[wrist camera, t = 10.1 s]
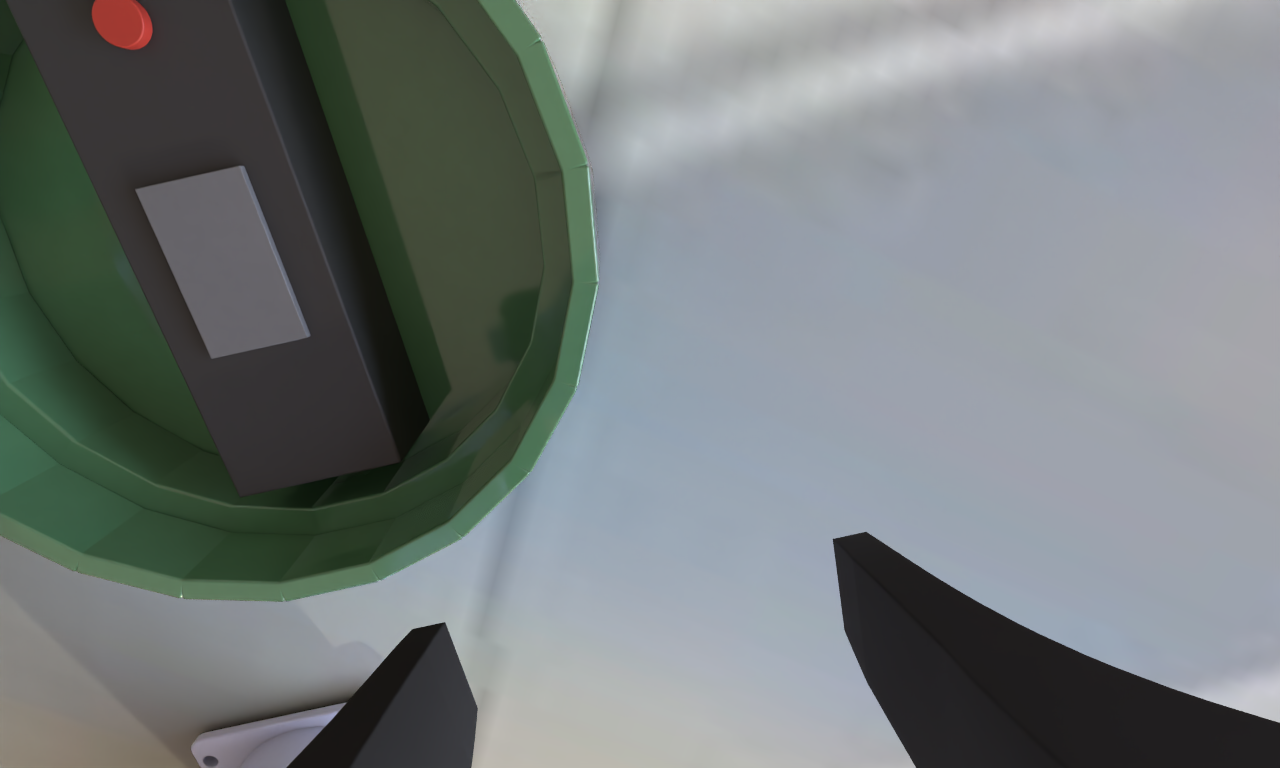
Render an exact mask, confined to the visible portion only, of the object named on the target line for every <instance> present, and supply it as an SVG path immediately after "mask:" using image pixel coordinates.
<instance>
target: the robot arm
mask: <svg viewBox="0 0 1280 768" xmlns="http://www.w3.org/2000/svg"><path fill="white" fill-rule="evenodd" d="M833 544H834V552H835V559H836V567H837V575H838V583H839V590H840V598H841V606H842V614H843V621H844V629H845V632H846V635H847V637H848V639H849V642H850V644H851V646H852V649H853V651H854V653H855V656H856V658H857V660H858V663H859V665H860V667H861V669H862V672H863V674H864V676H865V678H866V681H867V683H868V685H869V686H870V688H871V690H872V692H873V694H874V695H875V697H876V699H877V701H878V702H879V704H880V706H881V708H882V709H883V711H884V713H885V715H886V716H887V718H888V720H889V722H890V723H891V725H892V727H893V728H894V730H895V732H896V734H897V735H898V737H899V739H900V741H901V742H902V744H903V746H904V747H905V749H906V751H907V753H908V754H909V756H910V758H911V759H912V761H913V763H914V765H915V766H916V768H1280V723H1278V722H1275V721H1271V720H1268V719H1265V718H1262V717H1258V716H1255V715H1252V714H1249V713H1245V712H1242V711H1239V710H1236V709H1232V708H1229V707H1226V706H1223V705H1219V704H1216V703H1213V702H1210V701H1207V700H1204V699H1201V698H1198V697H1195V696H1192V695H1189V694H1186V693H1183V692H1180V691H1177V690H1174V689H1172V688H1169V687H1166V686H1163V685H1161V684H1158V683H1155V682H1153V681H1150V680H1147V679H1145V678H1142V677H1139V676H1137V675H1134V674H1131V673H1129V672H1126V671H1124V670H1121V669H1118V668H1116V667H1113V666H1111V665H1108V664H1106V663H1103V662H1101V661H1098V660H1096V659H1094V658H1091V657H1089V656H1086V655H1084V654H1082V653H1080V652H1078V651H1075V650H1073V649H1071V648H1069V647H1066V646H1064V645H1062V644H1060V643H1058V642H1055V641H1053V640H1051V639H1049V638H1047V637H1044V636H1042V635H1040V634H1038V633H1036V632H1034V631H1032V630H1030V629H1028V628H1026V627H1024V626H1022V625H1020V624H1018V623H1016V622H1014V621H1012V620H1010V619H1008V618H1007V617H1005V616H1003V615H1001V614H999V613H997V612H995V611H993V610H992V609H990V608H988V607H986V606H984V605H982V604H980V603H979V602H977V601H975V600H973V599H972V598H970V597H968V596H966V595H965V594H963V593H961V592H960V591H958V590H956V589H955V588H953V587H951V586H950V585H948V584H946V583H945V582H943V581H941V580H940V579H938V578H936V577H935V576H933V575H932V574H930V573H928V572H927V571H925V570H924V569H922V568H921V567H919V566H918V565H916V564H914V563H913V562H911V561H910V560H908V559H907V558H905V557H904V556H902V555H901V554H899V553H898V552H896V551H895V550H893V549H892V548H890V547H888V546H887V545H885V544H884V543H882V542H881V541H879V540H878V539H876V538H875V537H873V536H872V535H870V534H869V533H867V532H864V533H859V534H854V535H850V536H845V537H840V538H836V539H833ZM477 710H478V708H477V705H476V703H475V700H474V697H473V695H472V692H471V689H470V687H469V684H468V681H467V679H466V676H465V674H464V671H463V668H462V666H461V663H460V660H459V658H458V655H457V653H456V650H455V647H454V645H453V642H452V639H451V637H450V634H449V631H448V629H447V626H446V624H445V622H444V623H439V624H435V625H430V626H425V627H421V628H416V629H412V630H411V631H410V632H409V634H408V635H407V636H406V637H405V638H404V639H403V640H402V641H401V642H400V643H399V644H398V645H397V646H396V647H395V649H394V650H393V651H392V652H391V653H390V654H389V655H388V656H387V658H386V659H385V660H384V661H383V662H382V663H381V664H380V666H379V667H378V668H377V669H376V670H375V671H374V672H373V674H372V675H371V676H370V677H369V678H368V679H367V680H366V682H365V683H364V684H363V685H362V686H361V687H360V688H359V689H358V691H357V692H356V693H355V694H354V695H353V696H352V697H351V698H350V700H349V701H348V702H346V703H341V704H336V705H332V706H327V707H322V708H318V709H313V710H308V711H304V712H299V713H294V714H290V715H285V716H280V717H275V718H271V719H266V720H261V721H257V722H252V723H247V724H243V725H238V726H233V727H229V728H224V729H219V730H215V731H210V732H205V733H202V734H200V735H199V736H198V737H197V738H196V740H195V741H194V742H193V744H192V746H191V751H192V754H193V755H194V757H195V759H196V760H197V762H198V764H199V765H200V767H201V768H471V765H472V757H473V749H474V741H475V731H476V720H477Z"/></svg>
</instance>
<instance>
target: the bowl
mask: <svg viewBox="0 0 1280 768" xmlns="http://www.w3.org/2000/svg"><path fill="white" fill-rule="evenodd" d="M285 2H286V5H287V7H288V10H289V13H290V16H291V19H292V22H293V25H294V28H295V31H296V34H297V36H298V39H299V42H300V45H301V48H302V51H303V54H304V57H305V60H306V63H307V65H308V68H309V71H310V74H311V77H312V80H313V83H314V86H315V89H316V92H317V94H318V97H319V100H320V103H321V106H322V109H323V112H324V115H325V118H326V121H327V123H328V126H329V129H330V132H331V135H332V138H333V141H334V144H335V147H336V150H337V152H338V155H339V158H340V161H341V164H342V167H343V170H344V173H345V176H346V179H347V181H348V184H349V187H350V190H351V193H352V196H353V199H354V202H355V205H356V208H357V210H358V213H359V216H360V219H361V222H362V225H363V228H364V231H365V234H366V237H367V239H368V242H369V245H370V248H371V251H372V254H373V257H374V260H375V263H376V265H377V268H378V271H379V274H380V277H381V280H382V283H383V286H384V289H385V292H386V294H387V297H388V300H389V303H390V306H391V309H392V312H393V315H394V318H395V321H396V323H397V326H398V329H399V332H400V335H401V338H402V341H403V344H404V347H405V350H406V352H407V355H408V358H409V361H410V364H411V367H412V370H413V373H414V376H415V379H416V381H417V384H418V387H419V390H420V393H421V396H422V399H423V402H424V405H425V408H426V410H427V413H428V416H429V419H430V421H429V423H428V424H427V426H426V427H425V429H424V430H423V431H422V433H421V434H420V436H419V437H418V439H417V440H416V441H415V443H414V444H413V446H412V447H411V449H410V450H409V452H408V453H407V454H406V456H405V457H404V459H403V460H402V462H400V463H397V464H392V465H387V466H383V467H378V468H374V469H369V470H364V471H360V472H355V473H351V474H346V475H342V476H337V477H332V478H328V479H323V480H319V481H314V482H309V483H305V484H300V485H296V486H291V487H286V488H282V489H277V490H273V491H268V492H264V493H259V494H254V495H250V496H245V497H240V496H239V495H238V493H237V490H236V488H235V486H234V484H233V482H232V480H231V478H230V476H229V473H228V471H227V469H226V467H225V465H224V463H223V461H222V459H221V456H220V454H219V452H218V450H217V448H216V446H215V444H214V442H213V439H212V437H211V435H210V433H209V431H208V429H207V427H206V425H205V422H204V420H203V418H202V416H201V414H200V412H199V410H198V408H197V406H196V403H195V401H194V399H193V397H192V395H191V393H190V391H189V389H188V386H187V384H186V382H185V380H184V378H183V376H182V374H181V372H180V369H179V367H178V365H177V363H176V361H175V359H174V357H173V355H172V352H171V350H170V348H169V346H168V344H167V342H166V340H165V338H164V335H163V333H162V331H161V329H160V327H159V325H158V323H157V321H156V319H155V316H154V314H153V312H152V310H151V308H150V306H149V304H148V302H147V299H146V297H145V295H144V293H143V291H142V289H141V287H140V285H139V282H138V280H137V278H136V276H135V274H134V272H133V270H132V268H131V265H130V263H129V261H128V259H127V257H126V255H125V253H124V251H123V248H122V246H121V244H120V242H119V240H118V238H117V236H116V234H115V231H114V229H113V227H112V225H111V223H110V221H109V219H108V217H107V215H106V212H105V210H104V208H103V206H102V204H101V202H100V200H99V198H98V195H97V193H96V191H95V189H94V187H93V185H92V183H91V181H90V178H89V176H88V174H87V172H86V170H85V168H84V166H83V164H82V161H81V159H80V157H79V155H78V153H77V151H76V149H75V147H74V144H73V142H72V140H71V138H70V136H69V134H68V132H67V130H66V128H65V125H64V123H63V121H62V119H61V117H60V115H59V113H58V111H57V108H56V106H55V104H54V102H53V100H52V98H51V96H50V94H49V91H48V89H47V87H46V85H45V83H44V81H43V79H42V77H41V74H40V72H39V70H38V68H37V66H36V64H35V62H34V60H33V57H32V55H31V53H30V51H29V49H28V47H27V45H26V43H25V41H24V38H23V36H22V34H21V32H20V30H19V28H18V26H17V24H16V21H15V19H14V17H13V15H12V13H11V11H10V9H9V7H8V4H7V2H6V0H0V536H2V537H4V538H6V539H8V540H10V541H12V542H14V543H16V544H18V545H20V546H22V547H24V548H26V549H29V550H31V551H33V552H35V553H37V554H39V555H41V556H43V557H45V558H47V559H49V560H51V561H53V562H55V563H57V564H59V565H61V566H63V567H65V568H67V569H70V570H72V571H77V572H78V573H81V574H85V575H89V576H93V577H97V578H101V579H105V580H109V581H113V582H117V583H121V584H125V585H129V586H133V587H137V588H141V589H145V590H149V591H153V592H157V593H161V594H165V595H168V596H172V597H176V598H182V597H183V598H184V599H203V600H239V601H275V602H282V601H291V600H296V599H300V598H305V597H310V596H314V595H319V594H323V593H328V592H333V591H337V590H342V589H347V588H351V587H356V586H361V585H365V584H370V583H374V582H378V581H379V580H383V579H385V578H387V577H389V576H391V575H393V574H395V573H397V572H399V571H401V570H402V569H404V568H406V567H408V566H410V565H412V564H414V563H416V562H418V561H420V560H422V559H424V558H426V557H428V556H429V555H431V554H433V553H435V552H437V551H439V550H441V549H443V548H445V547H447V546H449V545H451V544H453V543H455V542H457V541H458V540H460V539H462V538H463V537H464V536H466V535H467V534H468V533H469V532H470V531H471V530H472V529H473V528H474V527H475V526H476V525H477V524H478V523H480V522H481V521H482V520H483V519H484V518H485V517H486V516H487V515H488V514H489V513H490V512H491V511H492V510H493V509H494V508H495V507H496V506H497V505H498V504H499V503H500V502H501V501H502V500H503V499H504V498H505V497H506V496H508V495H509V494H510V493H511V492H512V491H513V490H514V489H515V488H516V487H517V486H518V485H519V484H520V483H521V482H522V481H523V480H524V479H525V478H526V477H527V476H528V475H529V474H530V472H531V471H532V470H533V469H534V467H535V465H536V463H537V461H538V459H539V458H540V456H541V454H542V452H543V450H544V449H545V447H546V445H547V443H548V441H549V439H550V438H551V436H552V434H553V432H554V430H555V428H556V427H557V425H558V423H559V421H560V419H561V418H562V416H563V414H564V412H565V410H566V408H567V407H568V405H569V403H570V401H571V399H572V397H573V396H574V394H575V392H576V390H577V386H578V384H579V381H580V376H581V371H582V366H583V361H584V356H585V351H586V346H587V341H588V336H589V331H590V327H591V322H592V317H593V312H594V307H595V302H596V297H597V292H598V287H599V266H600V251H599V239H598V227H597V216H596V204H595V192H594V180H593V169H592V167H591V161H590V159H589V156H588V153H587V151H586V148H585V145H584V143H583V140H582V137H581V134H580V132H579V129H578V126H577V124H576V121H575V118H574V116H573V113H572V110H571V107H570V105H569V102H568V99H567V97H566V94H565V91H564V88H563V86H562V83H561V80H560V78H559V75H558V73H557V71H556V68H555V66H554V64H553V62H552V59H551V57H550V55H549V53H548V50H547V48H546V46H545V44H544V42H543V40H542V38H541V36H540V34H539V33H538V31H537V30H536V29H535V27H534V26H533V24H532V23H531V22H530V20H529V19H528V17H527V16H526V14H525V13H524V12H523V10H522V9H521V7H520V6H519V4H518V3H517V2H516V0H285Z"/></svg>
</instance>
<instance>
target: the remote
mask: <svg viewBox="0 0 1280 768" xmlns="http://www.w3.org/2000/svg"><path fill="white" fill-rule="evenodd" d="M6 2H7V4H8V7H9V9H10V11H11V13H12V15H13V17H14V19H15V21H16V24H17V26H18V28H19V30H20V32H21V34H22V36H23V38H24V41H25V43H26V45H27V47H28V49H29V51H30V53H31V55H32V57H33V60H34V62H35V64H36V66H37V68H38V70H39V72H40V74H41V77H42V79H43V81H44V83H45V85H46V87H47V89H48V91H49V94H50V96H51V98H52V100H53V102H54V104H55V106H56V108H57V111H58V113H59V115H60V117H61V119H62V121H63V123H64V125H65V128H66V130H67V132H68V134H69V136H70V138H71V140H72V142H73V144H74V147H75V149H76V151H77V153H78V155H79V157H80V159H81V161H82V164H83V166H84V168H85V170H86V172H87V174H88V176H89V178H90V181H91V183H92V185H93V187H94V189H95V191H96V193H97V195H98V198H99V200H100V202H101V204H102V206H103V208H104V210H105V212H106V215H107V217H108V219H109V221H110V223H111V225H112V227H113V229H114V231H115V234H116V236H117V238H118V240H119V242H120V244H121V246H122V248H123V251H124V253H125V255H126V257H127V259H128V261H129V263H130V265H131V268H132V270H133V272H134V274H135V276H136V278H137V280H138V282H139V285H140V287H141V289H142V291H143V293H144V295H145V297H146V299H147V302H148V304H149V306H150V308H151V310H152V312H153V314H154V316H155V319H156V321H157V323H158V325H159V327H160V329H161V331H162V333H163V335H164V338H165V340H166V342H167V344H168V346H169V348H170V350H171V352H172V355H173V357H174V359H175V361H176V363H177V365H178V367H179V369H180V372H181V374H182V376H183V378H184V380H185V382H186V384H187V386H188V389H189V391H190V393H191V395H192V397H193V399H194V401H195V403H196V406H197V408H198V410H199V412H200V414H201V416H202V418H203V420H204V422H205V425H206V427H207V429H208V431H209V433H210V435H211V437H212V439H213V442H214V444H215V446H216V448H217V450H218V452H219V454H220V456H221V459H222V461H223V463H224V465H225V467H226V469H227V471H228V473H229V476H230V478H231V480H232V482H233V484H234V486H235V488H236V490H237V493H238V495H239V496H240V497H245V496H250V495H254V494H259V493H264V492H268V491H273V490H277V489H282V488H286V487H291V486H296V485H300V484H305V483H309V482H314V481H319V480H323V479H328V478H332V477H337V476H342V475H346V474H351V473H355V472H360V471H364V470H369V469H374V468H378V467H383V466H387V465H392V464H397V463H400V462H402V460H403V459H404V457H405V456H406V454H407V453H408V452H409V450H410V449H411V447H412V446H413V444H414V443H415V441H416V440H417V439H418V437H419V436H420V434H421V433H422V431H423V430H424V429H425V427H426V426H427V424H428V423H429V421H430V419H429V416H428V413H427V410H426V408H425V405H424V402H423V399H422V396H421V393H420V390H419V387H418V384H417V381H416V379H415V376H414V373H413V370H412V367H411V364H410V361H409V358H408V355H407V352H406V350H405V347H404V344H403V341H402V338H401V335H400V332H399V329H398V326H397V323H396V321H395V318H394V315H393V312H392V309H391V306H390V303H389V300H388V297H387V294H386V292H385V289H384V286H383V283H382V280H381V277H380V274H379V271H378V268H377V265H376V263H375V260H374V257H373V254H372V251H371V248H370V245H369V242H368V239H367V237H366V234H365V231H364V228H363V225H362V222H361V219H360V216H359V213H358V210H357V208H356V205H355V202H354V199H353V196H352V193H351V190H350V187H349V184H348V181H347V179H346V176H345V173H344V170H343V167H342V164H341V161H340V158H339V155H338V152H337V150H336V147H335V144H334V141H333V138H332V135H331V132H330V129H329V126H328V123H327V121H326V118H325V115H324V112H323V109H322V106H321V103H320V100H319V97H318V94H317V92H316V89H315V86H314V83H313V80H312V77H311V74H310V71H309V68H308V65H307V63H306V60H305V57H304V54H303V51H302V48H301V45H300V42H299V39H298V36H297V34H296V31H295V28H294V25H293V22H292V19H291V16H290V13H289V10H288V7H287V5H286V2H285V0H6Z"/></svg>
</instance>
